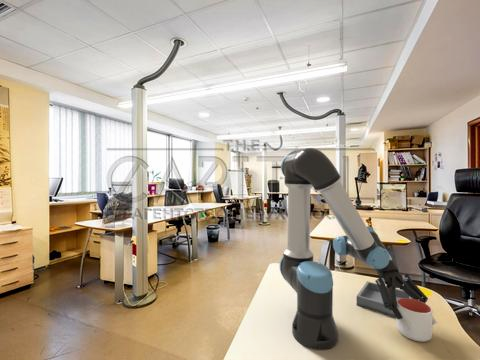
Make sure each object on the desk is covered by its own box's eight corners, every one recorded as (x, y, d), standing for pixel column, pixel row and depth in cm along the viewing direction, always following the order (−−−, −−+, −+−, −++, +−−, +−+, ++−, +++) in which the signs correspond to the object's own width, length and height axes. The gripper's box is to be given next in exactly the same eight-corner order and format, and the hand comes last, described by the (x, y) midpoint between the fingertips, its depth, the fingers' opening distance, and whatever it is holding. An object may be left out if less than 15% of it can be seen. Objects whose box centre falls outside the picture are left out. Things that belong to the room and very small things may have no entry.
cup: (429, 330, 86) (429, 302, 86) (434, 347, 77) (434, 316, 77) (395, 321, 91) (396, 295, 91) (396, 337, 82) (397, 308, 82)
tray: (356, 305, 103) (356, 295, 103) (367, 289, 116) (367, 281, 116) (408, 321, 91) (408, 311, 91) (413, 302, 105) (413, 292, 105)
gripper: (400, 265, 102) (438, 324, 87) (354, 270, 96) (387, 335, 81) (412, 256, 96) (455, 318, 82) (364, 261, 91) (401, 329, 76)
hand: (421, 327), depth 81 cm, fingers closed on cup, 10 cm apart
